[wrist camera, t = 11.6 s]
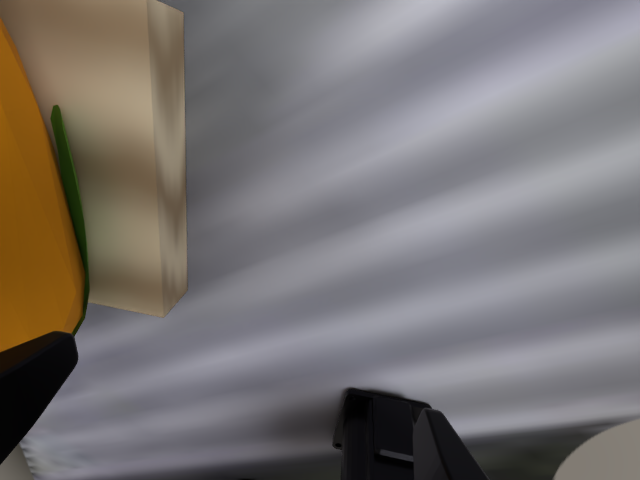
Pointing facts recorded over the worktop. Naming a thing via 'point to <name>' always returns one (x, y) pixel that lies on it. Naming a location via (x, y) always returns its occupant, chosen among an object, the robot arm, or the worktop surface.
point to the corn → (37, 216)
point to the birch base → (117, 135)
